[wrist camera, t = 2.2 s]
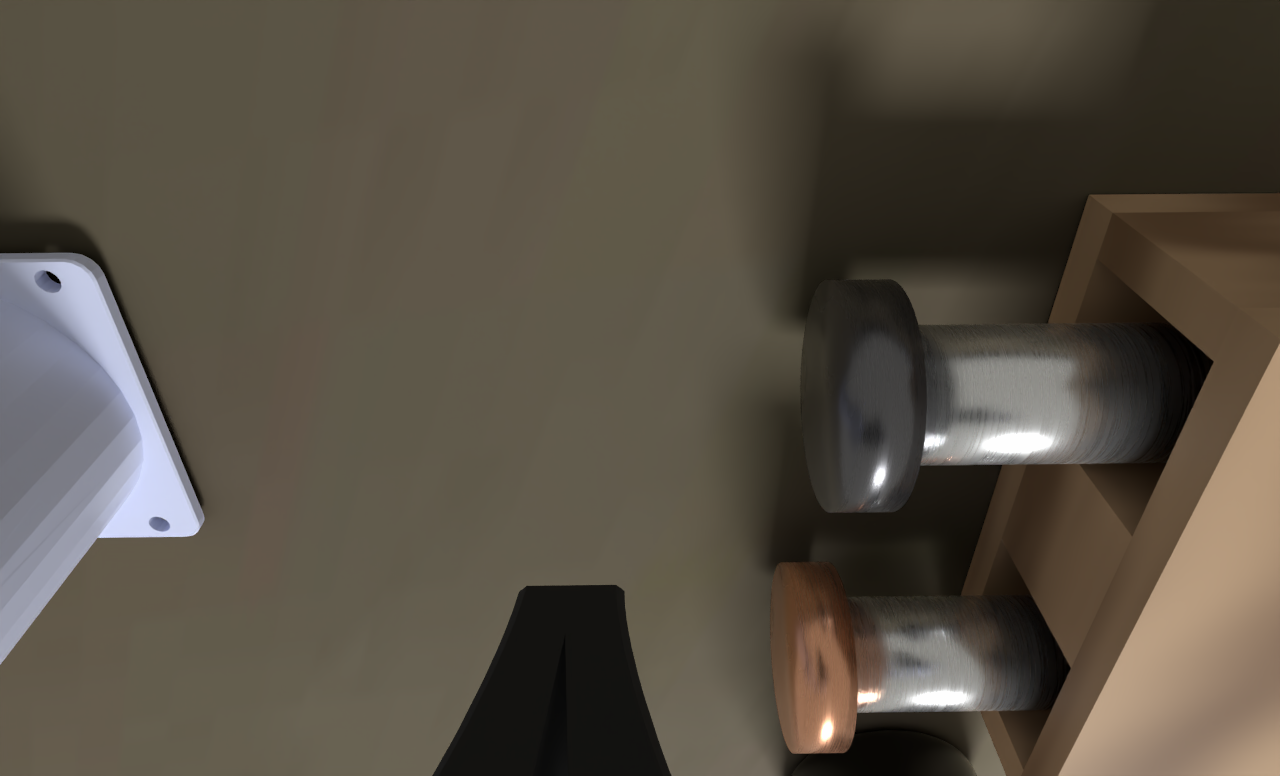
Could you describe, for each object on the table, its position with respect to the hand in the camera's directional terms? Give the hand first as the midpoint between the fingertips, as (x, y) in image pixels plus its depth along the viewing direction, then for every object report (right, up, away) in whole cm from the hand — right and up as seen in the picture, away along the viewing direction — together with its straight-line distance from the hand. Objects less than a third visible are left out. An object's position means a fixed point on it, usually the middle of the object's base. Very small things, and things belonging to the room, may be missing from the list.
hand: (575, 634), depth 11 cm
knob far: (+8, -2, +11) cm, 14 cm away
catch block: (+14, +2, +10) cm, 17 cm away
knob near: (+8, +5, +7) cm, 11 cm away
